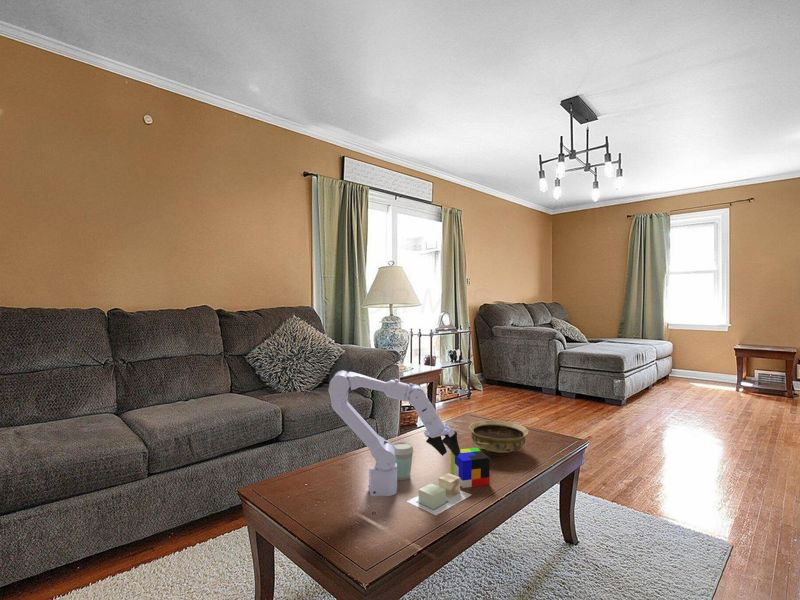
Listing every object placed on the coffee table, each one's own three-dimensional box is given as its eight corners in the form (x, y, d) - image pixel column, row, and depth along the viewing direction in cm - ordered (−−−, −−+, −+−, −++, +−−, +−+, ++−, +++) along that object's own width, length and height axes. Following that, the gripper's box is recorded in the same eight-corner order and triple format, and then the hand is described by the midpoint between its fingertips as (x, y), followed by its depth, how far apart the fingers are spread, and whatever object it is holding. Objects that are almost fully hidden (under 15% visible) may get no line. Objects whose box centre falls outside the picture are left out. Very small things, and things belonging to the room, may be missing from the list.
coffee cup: (416, 475, 155) (416, 442, 155) (410, 485, 147) (410, 450, 147) (393, 472, 158) (393, 440, 157) (386, 482, 149) (386, 448, 149)
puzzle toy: (462, 490, 143) (462, 460, 143) (451, 478, 153) (451, 450, 153) (489, 486, 146) (489, 457, 146) (476, 474, 156) (476, 447, 156)
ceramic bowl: (508, 471, 158) (508, 444, 158) (453, 455, 174) (453, 431, 174) (540, 448, 181) (540, 425, 181) (490, 436, 197) (490, 415, 197)
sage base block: (433, 508, 129) (433, 495, 129) (418, 502, 134) (418, 489, 134) (445, 501, 134) (445, 489, 134) (431, 495, 138) (431, 483, 138)
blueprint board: (435, 518, 126) (435, 515, 126) (406, 503, 134) (406, 501, 134) (471, 497, 138) (471, 494, 138) (442, 485, 147) (442, 482, 147)
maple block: (450, 497, 136) (450, 482, 136) (438, 492, 140) (438, 477, 140) (460, 492, 140) (460, 477, 140) (448, 487, 143) (448, 473, 143)
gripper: (451, 410, 137) (472, 446, 138) (426, 413, 149) (446, 446, 150) (436, 423, 133) (458, 460, 134) (412, 425, 145) (432, 459, 146)
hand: (451, 454), depth 141 cm, fingers open, 7 cm apart
